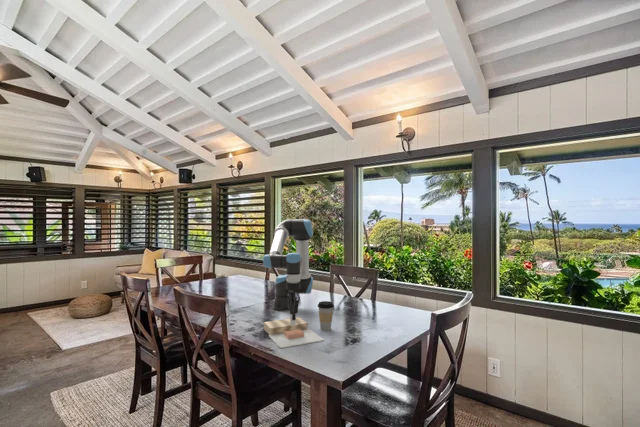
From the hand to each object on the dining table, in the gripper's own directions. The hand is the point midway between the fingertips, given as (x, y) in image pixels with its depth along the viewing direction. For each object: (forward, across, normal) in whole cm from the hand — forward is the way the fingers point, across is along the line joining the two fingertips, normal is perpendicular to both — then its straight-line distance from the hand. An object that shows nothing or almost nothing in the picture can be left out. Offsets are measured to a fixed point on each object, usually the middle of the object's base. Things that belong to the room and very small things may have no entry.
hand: (292, 325), depth 175 cm
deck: (+5, -11, 0) cm, 12 cm away
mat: (+5, +4, 0) cm, 7 cm away
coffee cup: (+6, -2, +21) cm, 22 cm away
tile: (+3, +2, 0) cm, 4 cm away
